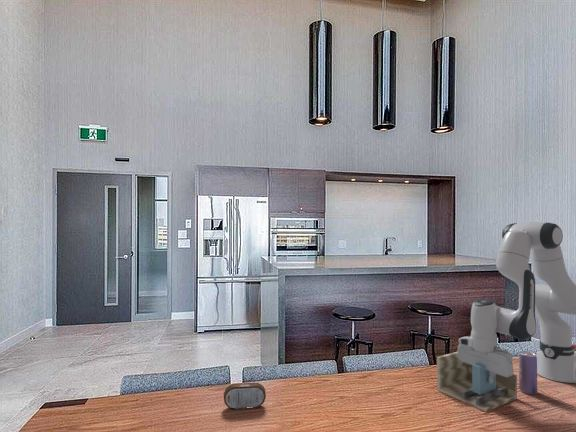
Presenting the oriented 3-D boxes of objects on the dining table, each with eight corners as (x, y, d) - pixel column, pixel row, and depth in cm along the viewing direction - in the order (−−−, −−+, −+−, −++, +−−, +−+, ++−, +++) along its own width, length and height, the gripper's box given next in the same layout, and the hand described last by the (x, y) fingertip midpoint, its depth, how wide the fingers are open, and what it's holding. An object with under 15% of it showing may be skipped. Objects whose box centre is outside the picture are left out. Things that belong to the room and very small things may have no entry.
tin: (265, 404, 135) (265, 380, 135) (266, 408, 132) (266, 384, 132) (223, 407, 132) (223, 383, 133) (223, 411, 129) (223, 387, 130)
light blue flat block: (488, 385, 143) (487, 359, 143) (495, 388, 140) (495, 362, 141) (472, 391, 138) (472, 364, 138) (480, 394, 135) (479, 367, 136)
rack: (468, 379, 157) (467, 348, 157) (516, 398, 140) (516, 364, 140) (437, 389, 147) (436, 357, 147) (485, 412, 129) (485, 374, 130)
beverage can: (540, 395, 142) (539, 356, 142) (523, 394, 143) (522, 355, 144) (533, 389, 148) (532, 351, 148) (516, 387, 149) (516, 350, 149)
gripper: (517, 350, 132) (517, 389, 132) (464, 335, 150) (464, 369, 150) (507, 353, 129) (507, 393, 129) (454, 337, 147) (455, 372, 146)
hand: (484, 380), depth 139 cm, fingers closed on light blue flat block, 3 cm apart
